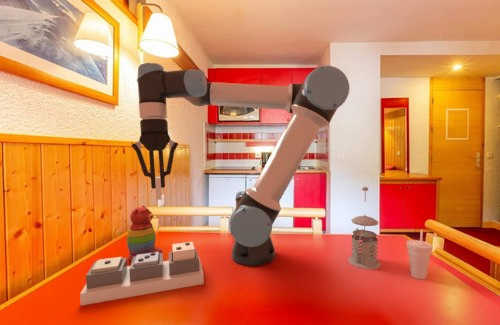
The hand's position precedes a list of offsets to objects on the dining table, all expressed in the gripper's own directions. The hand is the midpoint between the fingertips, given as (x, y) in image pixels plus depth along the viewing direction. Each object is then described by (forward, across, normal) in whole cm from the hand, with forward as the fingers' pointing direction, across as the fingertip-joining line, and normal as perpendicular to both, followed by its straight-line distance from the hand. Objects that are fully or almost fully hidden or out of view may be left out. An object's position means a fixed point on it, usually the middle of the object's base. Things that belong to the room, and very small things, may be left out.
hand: (159, 198), depth 76 cm
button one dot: (+19, +14, +3) cm, 24 cm away
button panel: (+23, +4, +3) cm, 24 cm away
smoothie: (+26, -69, +29) cm, 79 cm away
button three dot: (+20, +4, +3) cm, 20 cm away
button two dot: (+18, -6, +4) cm, 19 cm away
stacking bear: (+23, +7, -16) cm, 29 cm away
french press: (+25, -61, +17) cm, 68 cm away
